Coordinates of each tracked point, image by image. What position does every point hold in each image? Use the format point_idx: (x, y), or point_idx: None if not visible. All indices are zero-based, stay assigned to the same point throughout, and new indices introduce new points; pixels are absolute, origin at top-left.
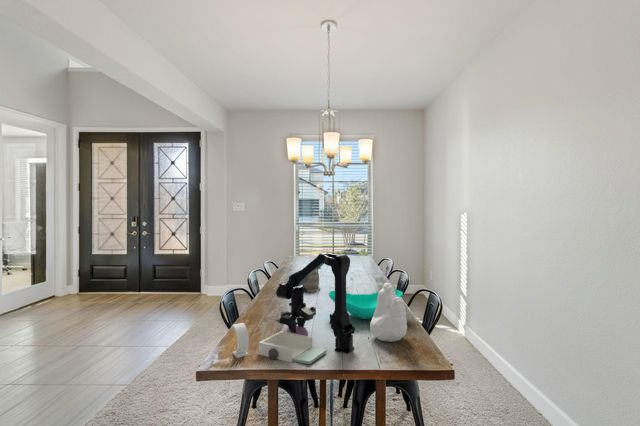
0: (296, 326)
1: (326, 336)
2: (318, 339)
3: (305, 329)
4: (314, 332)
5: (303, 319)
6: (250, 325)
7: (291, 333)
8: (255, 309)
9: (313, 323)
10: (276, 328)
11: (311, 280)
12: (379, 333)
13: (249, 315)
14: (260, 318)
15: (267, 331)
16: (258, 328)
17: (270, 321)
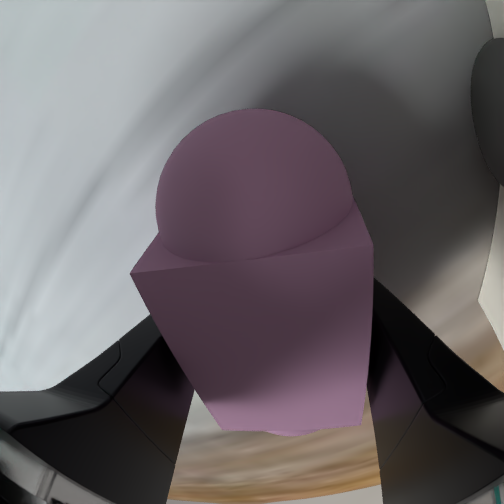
0: (228, 404)
1: (12, 45)
2: (125, 4)
3: (188, 220)
4: (38, 223)
5: (80, 462)
6: (299, 487)
7: None
8: (170, 495)
9: (6, 334)
10: (242, 445)
11: None
12: None
13: (220, 499)
14: (208, 487)
15: (320, 449)
16: (310, 472)
17: (196, 471)
